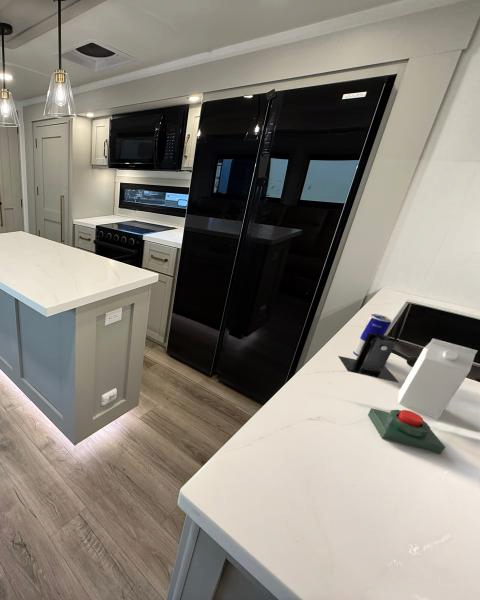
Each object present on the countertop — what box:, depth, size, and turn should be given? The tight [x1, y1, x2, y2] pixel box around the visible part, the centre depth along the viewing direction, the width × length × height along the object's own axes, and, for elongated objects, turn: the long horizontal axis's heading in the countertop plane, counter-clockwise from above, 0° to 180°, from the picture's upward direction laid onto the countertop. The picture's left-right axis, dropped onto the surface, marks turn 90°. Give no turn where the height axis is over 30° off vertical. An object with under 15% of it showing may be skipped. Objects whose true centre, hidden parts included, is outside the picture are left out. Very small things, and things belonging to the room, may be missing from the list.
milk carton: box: [397, 338, 478, 419], centre depth 76 cm, size 7×7×19 cm
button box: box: [367, 407, 446, 455], centre depth 70 cm, size 10×8×4 cm
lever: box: [370, 336, 419, 368], centre depth 89 cm, size 13×3×3 cm, turn 67°
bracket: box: [337, 333, 400, 384], centre depth 91 cm, size 12×9×12 cm
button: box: [398, 409, 424, 428], centre depth 69 cm, size 4×4×2 cm
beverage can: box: [352, 313, 393, 357], centre depth 97 cm, size 5×5×15 cm
